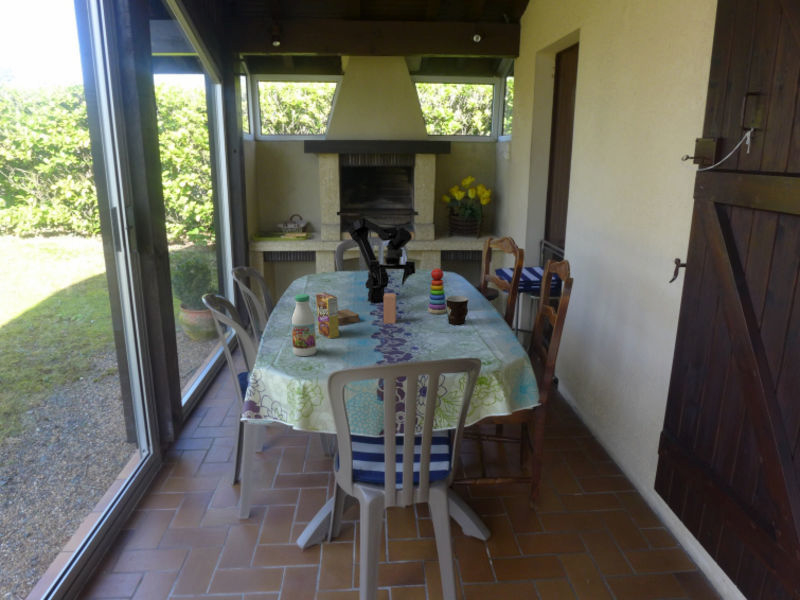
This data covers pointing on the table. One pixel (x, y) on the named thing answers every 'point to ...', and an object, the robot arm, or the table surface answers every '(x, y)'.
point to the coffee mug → (457, 309)
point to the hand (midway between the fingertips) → (391, 284)
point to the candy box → (327, 315)
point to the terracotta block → (389, 308)
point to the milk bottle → (303, 327)
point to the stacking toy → (437, 293)
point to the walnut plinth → (347, 317)
